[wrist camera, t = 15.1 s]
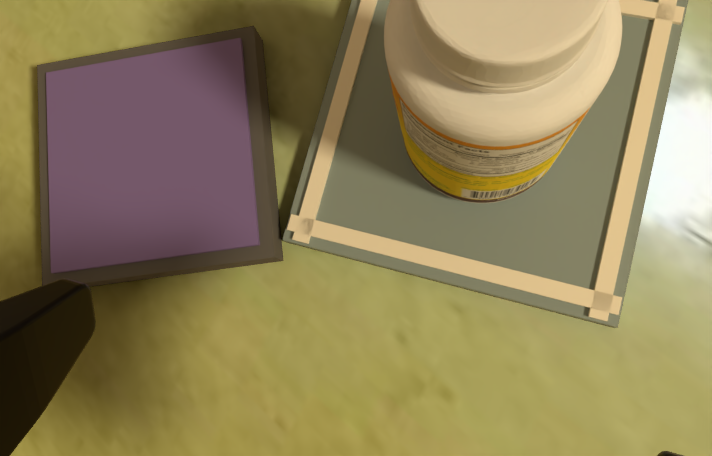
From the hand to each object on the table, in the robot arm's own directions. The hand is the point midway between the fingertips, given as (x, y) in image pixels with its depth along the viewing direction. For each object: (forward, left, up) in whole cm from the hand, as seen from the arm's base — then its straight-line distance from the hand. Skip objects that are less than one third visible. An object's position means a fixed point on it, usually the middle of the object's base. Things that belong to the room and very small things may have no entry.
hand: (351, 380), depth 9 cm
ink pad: (+8, +9, -13) cm, 17 cm away
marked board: (+8, -4, -13) cm, 15 cm away
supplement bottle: (+7, -4, -12) cm, 15 cm away
